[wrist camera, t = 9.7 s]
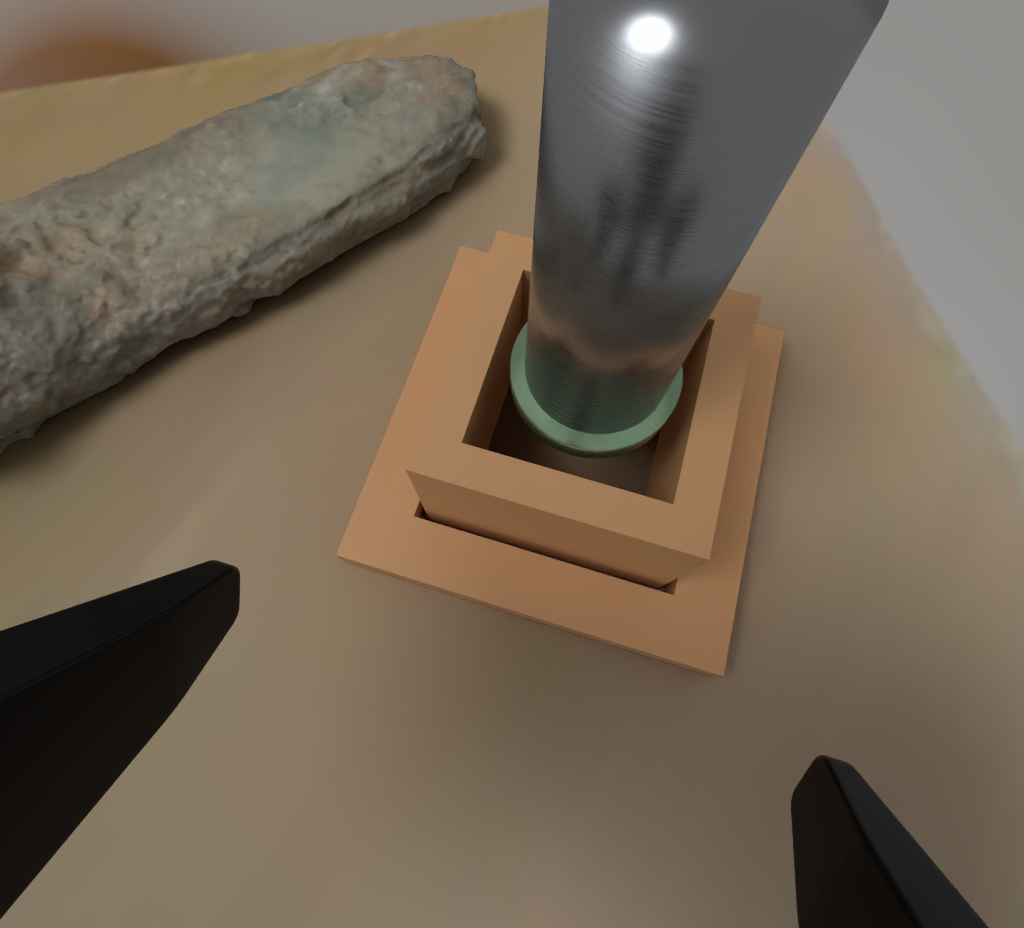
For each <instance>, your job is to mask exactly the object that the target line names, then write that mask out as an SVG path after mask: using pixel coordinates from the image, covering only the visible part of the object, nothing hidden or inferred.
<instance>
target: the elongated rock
mask: <svg viewBox="0 0 1024 928" xmlns="http://www.w3.org/2000/svg"><path fill="white" fill-rule="evenodd" d="M481 115H482V105H481V103H480V101H479V99H478V97H477V85H476V83H475V73H474V71H473V70H471V69H467V68H463V67H461V66H460V65H458V64H457V63H455V62H454V61H453V60H452V59H451V58H442V57H438V56H432V55H429V56H427V55H424V56H421V57H404V58H391V59H389V58H382V59H377V60H372V59H364V60H361V61H354V62H348V63H345V64H342V65H340V66H337V67H335V68H332V69H328V70H325V71H323V72H321V73H319V74H317V75H316V76H313V77H310V78H309V79H307V80H306V81H305V82H303V83H302V84H299V85H297V86H295V87H292V88H290V89H287V90H285V91H284V92H282V93H277V94H273V95H271V96H268V97H265V98H262V99H259V100H257V101H255V102H253V103H251V104H249V105H244V106H240V107H238V108H235V109H230V110H226V111H223V112H221V113H220V114H218V115H216V116H214V117H212V118H209V119H206V120H204V121H203V122H201V123H199V124H197V125H196V126H193V127H190V128H186V129H181V130H179V131H177V132H176V133H175V134H174V135H172V136H171V137H169V138H167V139H166V140H164V141H162V142H160V143H158V144H156V145H154V146H151V147H149V148H146V149H144V150H141V151H138V152H136V153H134V154H129V155H127V156H125V157H122V158H119V159H116V160H115V161H113V162H111V163H109V164H107V165H106V166H102V167H98V168H96V169H95V170H93V171H91V172H89V173H86V174H83V175H77V176H74V177H72V178H62V179H60V180H58V181H56V182H54V183H52V184H50V185H49V186H47V187H44V188H42V189H40V190H39V191H37V192H34V193H32V194H30V195H28V196H26V197H21V198H18V199H16V200H13V201H9V202H7V203H3V204H0V454H1V453H2V452H3V451H4V449H5V448H6V447H7V446H8V445H9V444H11V443H13V442H16V441H19V440H21V439H30V438H32V437H34V435H35V433H36V432H37V430H38V428H39V427H40V426H41V424H42V423H43V422H44V421H45V420H46V419H47V418H49V417H52V416H53V415H55V414H58V413H60V412H62V411H63V410H65V409H67V408H69V407H71V406H74V405H76V404H78V403H80V402H82V401H84V400H86V399H87V398H89V397H91V396H93V395H95V394H97V393H98V392H101V391H103V390H106V389H107V388H108V387H110V386H113V385H115V384H117V383H119V382H120V381H121V380H122V379H123V378H124V377H125V376H126V375H127V374H134V373H135V371H136V370H137V369H138V368H139V367H140V366H142V365H143V364H144V363H145V362H147V361H149V360H152V359H153V358H154V357H155V356H156V355H158V354H159V353H160V352H161V351H162V350H164V349H165V348H166V347H168V346H170V345H171V344H173V343H177V342H178V341H179V340H181V339H188V338H192V337H195V336H196V335H198V334H200V333H202V332H203V331H205V330H208V329H212V328H215V327H217V326H218V325H219V324H221V323H222V322H223V321H225V320H227V319H229V318H230V317H231V316H233V317H237V316H242V315H245V314H246V313H248V312H249V311H250V310H251V308H252V304H253V303H254V302H255V301H256V300H257V299H259V298H262V297H269V296H273V295H275V296H278V295H280V294H282V293H283V292H284V291H285V290H286V289H287V288H289V287H291V286H292V285H293V284H294V283H295V282H296V281H297V280H298V279H300V278H302V277H304V276H306V275H308V274H310V273H312V272H313V271H314V270H316V269H318V268H319V267H321V266H323V265H324V264H325V263H327V262H330V261H333V260H334V258H335V257H337V256H339V255H341V254H342V253H343V252H346V251H348V250H349V249H351V248H352V247H355V246H357V245H360V244H361V243H362V242H364V241H366V240H367V239H369V238H371V237H373V236H375V235H376V234H378V233H380V232H382V231H384V230H386V229H388V228H390V227H393V226H394V225H395V224H396V223H401V222H403V221H404V220H405V219H406V218H408V216H409V215H411V214H414V213H415V212H416V211H418V210H420V209H421V208H422V207H424V206H426V205H427V204H428V203H429V201H430V200H431V199H433V198H434V197H435V196H437V195H439V194H442V193H444V192H450V191H451V189H452V186H453V184H454V182H455V181H456V177H457V176H458V175H459V174H461V173H463V171H464V170H465V169H466V168H467V167H468V166H469V165H470V163H471V160H472V159H478V160H480V161H483V160H484V158H485V154H486V151H487V144H488V137H487V129H486V127H484V126H483V123H482V119H481Z"/></svg>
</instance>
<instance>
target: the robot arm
mask: <svg viewBox="0 0 1024 928" xmlns="http://www.w3.org/2000/svg"><path fill="white" fill-rule="evenodd" d="M239 602H240V572H239V570H238V568H237V567H235V566H233V565H229V564H226V563H223V562H220V561H216V560H211V561H207V562H204V563H201V564H198V565H195V566H192V567H189V568H186V569H183V570H180V571H177V572H174V573H171V574H168V575H165V576H163V577H160V578H157V579H154V580H151V581H148V582H145V583H142V584H139V585H136V586H133V587H130V588H127V589H124V590H121V591H118V592H115V593H112V594H109V595H106V596H103V597H100V598H97V599H94V600H91V601H88V602H85V603H82V604H79V605H76V606H73V607H70V608H67V609H64V610H61V611H58V612H55V613H53V614H50V615H47V616H44V617H41V618H38V619H35V620H32V621H29V622H26V623H23V624H20V625H17V626H14V627H11V628H8V629H5V630H2V631H0V919H1V918H2V917H3V916H4V914H5V913H6V912H7V911H8V910H9V908H10V907H11V906H12V905H13V904H14V902H15V901H16V900H17V899H18V898H19V896H20V895H21V894H22V893H23V891H24V890H25V889H26V888H27V887H28V885H29V884H30V883H31V882H32V881H33V879H34V878H35V877H36V876H37V875H38V873H39V872H40V871H41V870H42V869H43V867H44V866H45V865H46V864H47V863H48V861H49V860H50V859H51V858H52V857H53V855H54V854H55V853H56V852H57V851H58V849H59V848H60V847H61V846H62V845H63V843H64V842H65V841H66V840H67V839H68V837H69V836H70V835H71V834H72V833H73V831H74V830H75V829H76V828H77V827H78V825H79V824H80V823H81V822H82V821H83V819H84V818H85V817H86V816H87V815H88V813H89V812H90V811H91V810H92V809H93V807H94V806H95V805H96V804H97V803H98V801H99V800H100V799H101V798H102V797H103V795H104V794H105V793H106V792H107V791H108V789H109V788H110V787H111V786H112V785H113V783H114V782H115V781H116V780H117V779H118V777H119V776H120V775H121V774H122V773H123V771H124V770H125V769H126V768H127V767H128V765H129V764H130V763H131V762H132V761H133V759H134V758H135V757H136V756H137V755H138V753H139V752H140V751H141V750H142V749H143V747H144V746H145V745H146V744H147V743H148V741H149V740H150V739H151V738H152V737H153V735H154V734H155V733H156V732H157V731H158V729H159V728H160V727H161V726H162V725H163V723H164V722H165V721H166V720H167V718H168V717H169V716H170V715H171V713H172V712H173V711H174V710H175V708H176V707H177V706H178V704H179V703H180V702H181V700H182V699H183V697H184V696H185V694H186V693H187V692H188V690H189V689H190V687H191V686H192V684H193V683H194V681H195V680H196V678H197V677H198V675H199V674H200V672H201V671H202V669H203V668H204V666H205V665H206V663H207V662H208V660H209V659H210V658H211V656H212V655H213V653H214V652H215V650H216V649H217V647H218V646H219V644H220V643H221V641H222V640H223V638H224V637H225V635H226V634H227V632H228V631H229V629H230V628H231V626H232V625H233V623H234V622H235V620H236V618H237V615H238V612H239ZM791 816H792V833H793V850H794V868H795V885H796V902H797V914H798V924H799V928H989V927H988V926H987V925H986V924H985V922H984V921H983V920H982V919H981V918H980V917H979V915H978V914H977V913H976V912H975V911H974V909H973V908H972V907H971V906H970V905H969V903H968V902H967V901H966V900H965V899H964V898H963V896H962V895H961V894H960V893H959V892H958V890H957V889H956V888H955V887H954V886H953V884H952V883H951V882H950V881H949V880H948V879H947V877H946V876H945V875H944V874H943V873H942V871H941V870H940V869H939V868H938V867H937V865H936V864H935V863H934V862H933V861H932V860H931V858H930V857H929V856H928V855H927V854H926V852H925V851H924V850H923V849H922V848H921V846H920V845H919V844H918V843H917V842H916V841H915V839H914V838H913V837H912V836H911V835H910V833H909V832H908V831H907V830H906V829H905V827H904V826H903V825H902V824H901V823H900V822H899V820H898V819H897V818H896V817H895V816H894V814H893V813H892V812H891V811H890V810H889V808H888V807H887V806H886V805H885V804H884V803H883V801H882V800H881V799H880V798H879V797H878V795H877V794H876V793H875V792H874V791H873V789H872V788H871V787H870V786H869V785H868V784H867V782H866V781H865V780H864V779H863V778H862V776H861V775H860V774H859V773H858V772H857V770H856V769H855V768H854V767H853V766H852V765H850V764H849V763H847V762H844V761H841V760H838V759H835V758H832V757H829V756H825V755H820V756H818V757H816V758H815V759H814V761H813V762H812V764H811V765H810V767H809V768H808V770H807V771H806V773H805V774H804V776H803V777H802V779H801V780H800V782H799V783H798V785H797V786H796V788H795V790H794V792H793V795H792V800H791Z"/></svg>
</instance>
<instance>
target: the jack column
mask: <svg viewBox="0 0 1024 928" xmlns="http://www.w3.org/2000/svg"><path fill="white" fill-rule="evenodd" d="M888 2H889V0H549V12H548V26H547V41H546V56H545V71H544V86H543V101H542V116H541V130H540V145H539V160H538V175H537V190H536V205H535V219H534V234H533V249H532V264H531V279H530V294H529V308H528V322H527V323H526V324H525V326H524V327H523V328H522V330H521V331H520V333H519V335H518V337H517V339H516V341H515V344H514V347H513V350H512V354H511V363H510V388H511V394H512V398H513V401H514V404H515V407H516V409H517V411H518V413H519V415H520V417H521V418H522V420H523V421H524V423H525V424H526V425H527V427H528V428H529V429H530V430H531V431H532V432H533V433H534V434H535V435H536V436H537V437H538V438H540V439H541V440H542V441H544V442H545V443H547V444H548V445H550V446H551V447H553V448H555V449H557V450H559V451H562V452H565V453H568V454H570V455H574V456H579V457H585V458H609V457H615V456H619V455H623V454H626V453H628V452H631V451H633V450H635V449H637V448H639V447H641V446H642V445H644V444H646V443H647V442H648V441H649V440H651V439H652V438H653V437H654V436H655V435H656V434H657V433H658V432H659V431H660V430H661V428H662V427H663V425H664V424H665V422H666V421H667V419H668V418H669V416H670V415H671V413H672V411H673V410H674V408H675V406H676V404H677V402H678V399H679V396H680V393H681V389H682V383H683V368H682V364H683V362H684V361H685V359H686V357H687V356H688V354H689V352H690V350H691V349H692V347H693V345H694V343H695V342H696V340H697V338H698V336H699V335H700V333H701V331H702V329H703V328H704V326H705V324H706V322H707V321H708V319H709V317H710V315H711V314H712V312H713V310H714V308H715V307H716V305H717V303H718V301H719V300H720V298H721V296H722V295H723V293H724V291H725V289H726V288H727V286H728V284H729V282H730V281H731V279H732V277H733V275H734V274H735V272H736V270H737V268H738V267H739V265H740V263H741V261H742V260H743V258H744V256H745V254H746V253H747V251H748V249H749V247H750V246H751V244H752V242H753V241H754V239H755V237H756V235H757V234H758V232H759V230H760V228H761V227H762V225H763V223H764V221H765V220H766V218H767V216H768V214H769V213H770V211H771V209H772V207H773V206H774V204H775V202H776V200H777V199H778V197H779V195H780V193H781V192H782V190H783V188H784V187H785V185H786V183H787V181H788V180H789V178H790V176H791V174H792V173H793V171H794V169H795V167H796V166H797V164H798V162H799V160H800V159H801V157H802V155H803V153H804V152H805V150H806V148H807V146H808V145H809V143H810V141H811V139H812V138H813V136H814V134H815V133H816V131H817V129H818V127H819V126H820V124H821V122H822V120H823V119H824V117H825V115H826V113H827V112H828V110H829V108H830V106H831V105H832V103H833V101H834V99H835V98H836V96H837V94H838V92H839V91H840V89H841V87H842V85H843V84H844V82H845V80H846V78H847V77H848V75H849V73H850V72H851V70H852V68H853V66H854V65H855V63H856V61H857V59H858V57H859V55H860V54H861V52H862V51H863V49H864V47H865V45H866V44H867V42H868V40H869V38H870V37H871V35H872V33H873V31H874V29H875V28H876V26H877V24H878V23H879V21H880V19H881V18H882V15H883V13H884V11H885V9H886V7H887V5H888Z"/></svg>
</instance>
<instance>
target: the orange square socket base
mask: <svg viewBox="0 0 1024 928" xmlns="http://www.w3.org/2000/svg"><path fill="white" fill-rule="evenodd" d="M532 249H533V239H531V238H527V237H523V236H520V235H516V234H512V233H508V232H504V231H500V230H497V233H496V236H495V238H494V241H493V243H492V246H491V249H490V251H489V253H486V252H482V251H478V250H475V249H471V248H467V247H463V246H461V247H460V249H459V252H458V254H457V257H456V259H455V262H454V264H453V267H452V269H451V272H450V274H449V277H448V279H447V282H446V284H445V287H444V289H443V291H442V294H441V296H440V299H439V301H438V304H437V306H436V309H435V311H434V314H433V316H432V319H431V321H430V324H429V326H428V329H427V331H426V333H425V336H424V338H423V341H422V343H421V346H420V348H419V351H418V353H417V356H416V358H415V361H414V363H413V366H412V368H411V371H410V373H409V376H408V378H407V380H406V383H405V385H404V388H403V390H402V393H401V395H400V398H399V400H398V403H397V405H396V408H395V410H394V413H393V415H392V418H391V420H390V422H389V425H388V427H387V430H386V432H385V435H384V437H383V440H382V442H381V445H380V447H379V450H378V452H377V455H376V457H375V460H374V462H373V465H372V467H371V469H370V472H369V474H368V477H367V479H366V482H365V484H364V487H363V489H362V492H361V494H360V497H359V499H358V502H357V504H356V507H355V509H354V511H353V514H352V516H351V519H350V521H349V524H348V526H347V529H346V531H345V534H344V536H343V539H342V541H341V544H340V546H339V549H338V551H337V554H336V556H338V557H339V558H340V559H342V560H343V561H345V562H348V563H351V564H354V565H357V566H360V567H364V568H367V569H370V570H373V571H376V572H380V573H383V574H386V575H389V576H392V577H396V578H399V579H402V580H405V581H408V582H411V583H415V584H418V585H421V586H424V587H427V588H431V589H434V590H437V591H440V592H443V593H447V594H450V595H453V596H456V597H459V598H463V599H466V600H469V601H472V602H475V603H479V604H482V605H485V606H488V607H491V608H494V609H498V610H501V611H504V612H507V613H510V614H514V615H517V616H520V617H523V618H526V619H530V620H533V621H536V622H539V623H542V624H546V625H549V626H552V627H555V628H558V629H562V630H565V631H568V632H571V633H574V634H577V635H581V636H584V637H587V638H590V639H593V640H597V641H600V642H603V643H606V644H609V645H613V646H616V647H619V648H622V649H625V650H629V651H632V652H635V653H638V654H641V655H644V656H648V657H651V658H654V659H657V660H660V661H664V662H667V663H670V664H673V665H676V666H680V667H683V668H686V669H689V670H692V671H696V672H699V673H702V674H705V675H708V676H724V673H725V667H726V661H727V656H728V650H729V644H730V639H731V633H732V627H733V622H734V616H735V610H736V605H737V599H738V593H739V587H740V582H741V576H742V570H743V565H744V559H745V553H746V548H747V542H748V536H749V531H750V525H751V519H752V514H753V508H754V502H755V497H756V491H757V485H758V480H759V474H760V468H761V463H762V457H763V451H764V446H765V440H766V434H767V429H768V423H769V417H770V412H771V406H772V400H773V395H774V389H775V383H776V378H777V372H778V366H779V361H780V355H781V349H782V344H783V338H784V332H785V330H781V329H777V328H773V327H769V326H765V325H762V324H758V323H756V319H757V314H758V308H759V303H760V297H756V296H752V295H749V294H745V293H741V292H737V291H733V290H729V289H725V291H724V293H723V295H722V296H721V298H720V300H719V301H718V303H717V305H716V307H715V308H714V310H713V312H712V314H711V315H710V317H709V319H708V321H707V322H706V324H705V326H704V328H703V329H702V331H701V333H700V335H699V336H698V338H697V340H696V342H695V343H694V345H693V347H692V349H691V350H690V352H689V354H688V356H687V357H686V359H685V361H684V362H683V364H682V368H683V383H682V389H681V393H680V396H679V399H678V402H677V404H676V406H675V408H674V410H673V411H672V413H671V415H670V416H669V418H668V419H667V421H666V422H665V424H664V425H663V427H662V428H661V430H660V433H659V437H658V442H657V446H656V450H655V454H654V458H653V462H652V467H651V471H650V475H649V479H648V483H647V487H646V491H645V496H643V495H640V494H636V493H633V492H629V491H626V490H623V489H619V488H616V487H612V486H609V485H605V484H602V483H598V482H595V481H592V480H588V479H585V478H581V477H578V476H574V475H571V474H567V473H564V472H561V471H557V470H554V469H550V468H547V467H543V466H540V465H536V464H533V463H530V462H526V461H523V460H519V459H516V458H512V457H509V456H505V455H502V454H499V453H495V452H492V451H488V448H489V445H490V442H491V439H492V436H493V433H494V430H495V427H496V424H497V421H498V418H499V415H500V412H501V409H502V407H503V404H504V401H505V398H506V395H507V392H508V389H509V386H510V363H511V354H512V350H513V347H514V344H515V341H516V339H517V337H518V335H519V333H520V331H521V330H522V328H523V327H524V326H525V324H526V323H527V322H528V308H529V294H530V279H531V264H532ZM424 509H425V512H426V514H427V516H428V518H429V519H430V520H433V521H437V522H440V523H443V524H447V525H450V526H453V527H457V528H460V529H463V530H466V531H470V532H473V533H476V534H480V535H483V536H486V537H490V538H493V539H496V540H499V541H503V542H506V543H509V544H513V545H516V546H519V547H523V548H526V549H529V550H532V551H536V552H539V553H542V554H546V555H549V556H552V557H556V558H559V559H562V560H565V561H569V562H572V563H575V564H579V565H582V566H585V567H589V568H592V569H595V570H598V571H602V572H605V573H608V574H612V575H615V576H618V577H622V578H625V579H628V580H631V581H635V582H638V583H641V584H645V585H648V586H651V587H655V588H658V589H659V588H660V587H662V586H664V585H666V584H667V583H668V588H667V592H666V593H665V592H662V591H659V590H655V589H652V588H649V587H645V586H642V585H639V584H635V583H632V582H629V581H626V580H622V579H619V578H616V577H612V576H609V575H606V574H602V573H599V572H596V571H593V570H589V569H586V568H583V567H579V566H576V565H573V564H570V563H566V562H563V561H560V560H556V559H553V558H550V557H546V556H543V555H540V554H537V553H533V552H530V551H527V550H523V549H520V548H517V547H513V546H510V545H507V544H504V543H500V542H497V541H494V540H490V539H487V538H484V537H480V536H477V535H474V534H471V533H467V532H464V531H461V530H457V529H454V528H451V527H448V526H444V525H441V524H438V523H434V522H431V521H428V520H424V519H421V516H422V513H423V511H424Z"/></svg>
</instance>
